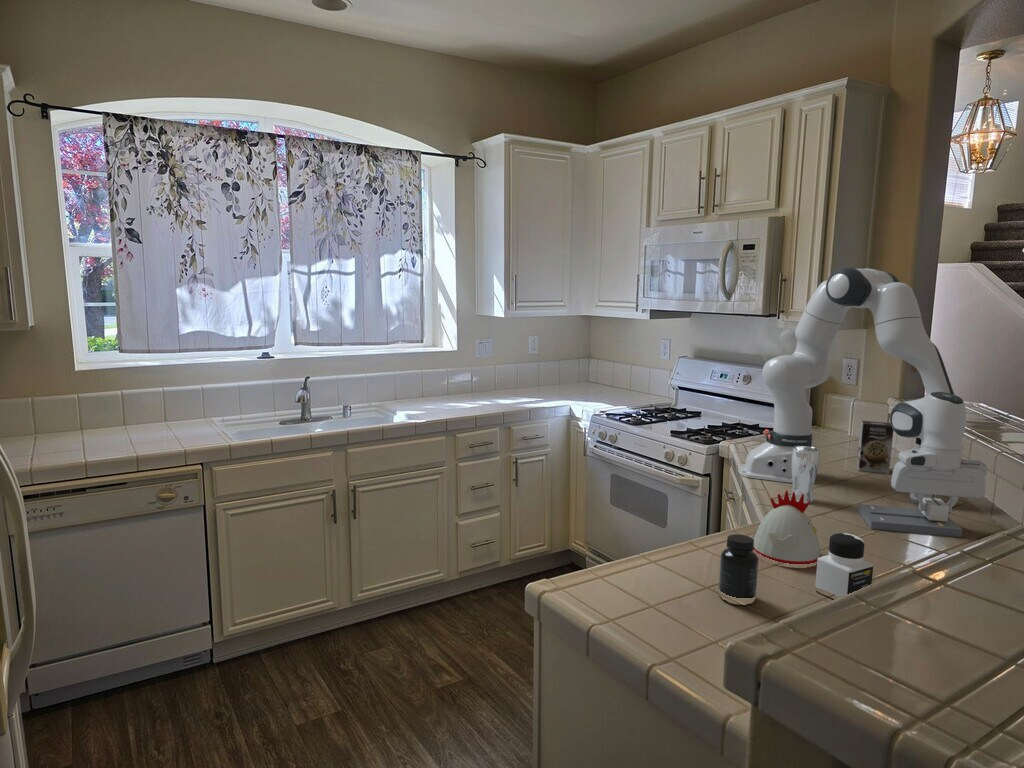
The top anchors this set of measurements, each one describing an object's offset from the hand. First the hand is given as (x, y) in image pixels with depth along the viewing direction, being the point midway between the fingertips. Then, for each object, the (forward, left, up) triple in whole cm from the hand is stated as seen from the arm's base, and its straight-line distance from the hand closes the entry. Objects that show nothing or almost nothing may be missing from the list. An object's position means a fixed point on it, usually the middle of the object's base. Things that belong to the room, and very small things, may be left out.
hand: (934, 511), depth 169 cm
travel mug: (+4, +21, -4) cm, 22 cm away
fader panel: (-6, 0, -4) cm, 7 cm away
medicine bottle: (-31, -49, -4) cm, 58 cm away
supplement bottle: (-51, -56, -4) cm, 76 cm away
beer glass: (-29, +13, -4) cm, 32 cm away
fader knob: (0, 0, -2) cm, 2 cm away
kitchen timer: (-39, -31, -4) cm, 50 cm away
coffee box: (-1, +54, -4) cm, 54 cm away
